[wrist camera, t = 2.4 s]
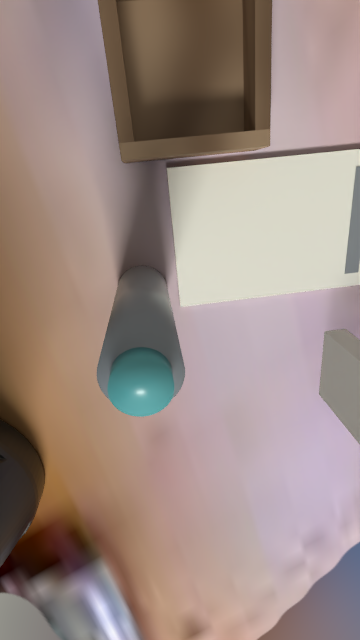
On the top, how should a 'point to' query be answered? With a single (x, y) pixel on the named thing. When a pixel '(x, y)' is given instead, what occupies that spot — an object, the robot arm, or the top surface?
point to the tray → (188, 76)
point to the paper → (266, 226)
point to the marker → (141, 346)
